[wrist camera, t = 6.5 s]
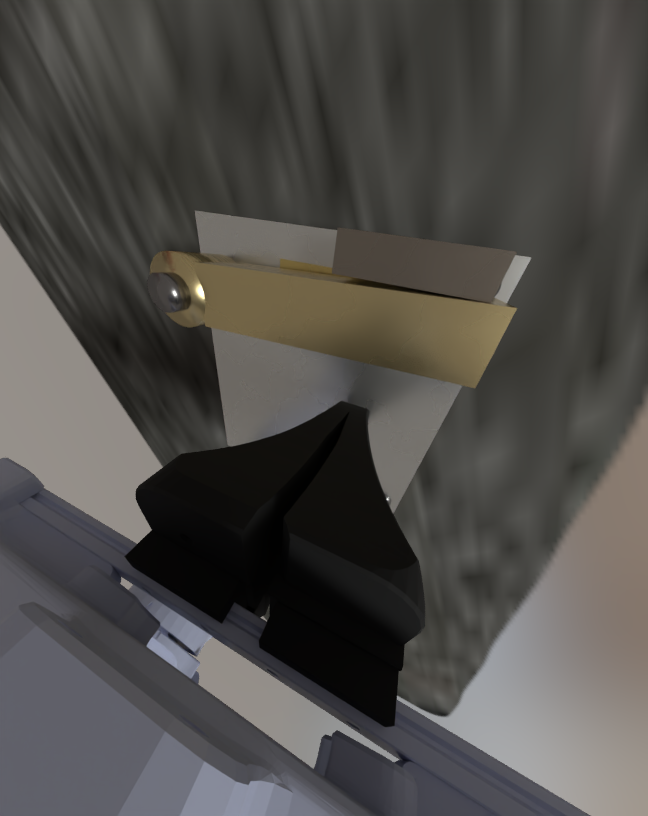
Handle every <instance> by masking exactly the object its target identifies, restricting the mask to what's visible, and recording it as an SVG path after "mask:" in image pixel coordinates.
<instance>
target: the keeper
mask: <svg viewBox="0 0 648 816" xmlns="http://www.w3.org/2000/svg"><path fill="white" fill-rule="evenodd" d="M516 253H517V252H515V251H507V250H500V249H493V248H485V247H478V246H471V245H463V244H456V243H449V242H441V241H434V240H426V239H419V238H412V237H404V236H397V235H390V234H382V233H375V232H368V231H360V230H353V229H346V228H338V229H337V237H336V244H335V252H334V260H333V267H332V268H331V267H325V266H320V265H314V264H308V263H303V262H297V261H292V260H286V259H280V268H284V269H291V270H299V271H306V272H314V273H321V274H328V275H336V276H343V277H350V278H358V279H364V280H370V281H375V282H380V283H386V284H391V285H396V286H402V287H407V288H413V289H418V290H423V291H429V292H434V293H439V294H445V295H450V296H456V297H461V298H466V299H472V300H477V301H482V302H488V303H491V302H492V300H493V298H494V296H495V294H496V292H497V290H498V289H499V287H500V285H501V283H502V281H503V279H504V277H505V275H506V273H507V271H508V269H509V267H510V265H511V263H512V261H513V259H514V257H515V255H516Z"/></svg>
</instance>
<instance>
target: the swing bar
mask: <svg viewBox="0 0 648 816" xmlns="http://www.w3.org/2000/svg"><path fill="white" fill-rule="evenodd" d="M147 287H148V291H149V294H150V296H151V298H152V300H153V302H154V303H155V305H156V306H157V307H158V308H159V309H160V310H162V311H164V312H165V313H166V314H167V315H168V316H169V317H170V318H171V319H172V320H173V321H175V322H176V323H178V324H179V325H181V326H184V327H195V326H199V325H203V324H205V326H206V327H210V328H215V329H219V330H223V331H228V332H232V333H237V334H241V335H245V336H250V337H254V338H258V339H263V340H267V341H271V342H276V343H280V344H284V345H289V346H293V347H297V348H302V349H306V350H310V351H315V352H319V353H323V354H328V355H332V356H337V357H341V358H345V359H350V360H354V361H358V362H363V363H367V364H371V365H376V366H380V367H384V368H389V369H393V370H397V371H402V372H406V373H410V374H415V375H419V376H423V377H428V378H432V379H437V380H441V381H445V382H450V383H454V384H458V385H463V386H467V387H471V388H476V386H477V384H478V382H479V380H480V378H481V376H482V374H483V372H484V371H485V369H486V367H487V365H488V363H489V361H490V359H491V357H492V355H493V353H494V351H495V349H496V347H497V346H498V344H499V342H500V340H501V338H502V336H503V334H504V332H505V330H506V328H507V326H508V324H509V323H510V321H511V319H512V317H513V315H514V313H515V311H516V309H517V308H516V307H514V306H511V305H509V304H507V303H505V302H503V301H501V300H498V299H496V298H493V300H492V302H491V303H488V302H482V301H477V300H472V299H466V298H461V297H456V296H450V295H445V294H439V293H434V292H429V291H423V290H418V289H413V288H407V287H402V286H396V285H391V284H386V283H380V282H375V281H370V280H364V279H358V278H350V277H343V276H336V275H328V274H321V273H314V272H306V271H299V270H291V269H284V268H277V267H269V266H262V265H255V264H247V263H236V262H235V261H234V260H232V259H231V258H230V257H228V256H226V255H222V254H209V253H193V252H176V251H161V252H159V253H157V254H156V255H155V256H154V258H153V260H152V262H151V267H150V275H149V277H148V280H147Z"/></svg>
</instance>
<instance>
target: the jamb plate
mask: <svg viewBox="0 0 648 816" xmlns="http://www.w3.org/2000/svg"><path fill="white" fill-rule="evenodd" d="M195 216H196V223H197V230H198V237H199V244H200V251H201V253H209V254H222V255H226V256H228V257H230V258H231V259H232V260H234V261H235V262H236V263H247V264H255V265H262V266H269V267H277V268H280V259H286V260H292V261H297V262H303V263H308V264H314V265H320V266H325V267H331V268H332V267H333V260H334V252H335V244H336V237H337V230H330V229H323V228H316V227H309V226H301V225H294V224H287V223H280V222H273V221H266V220H258V219H251V218H244V217H237V216H230V215H223V214H215V213H208V212H201V211H195ZM530 259H531V257H524V256H517V255H515V257H514V259H513V261H512V263H511V265H510V267H509V269H508V271H507V273H506V275H505V277H504V279H503V281H502V283H501V285H500V287H499V289H498V290H497V292H496V294H495V296H494V298H496V299H498V300H501V301H503V302H505V303H507V302H508V300H509V298H510V296H511V294H512V293H513V291H514V289H515V287H516V285H517V283H518V281H519V280H520V278H521V276H522V274H523V272H524V270H525V268H526V267H527V265H528V263H529V261H530ZM211 329H212V336H213V343H214V351H215V358H216V365H217V372H218V379H219V386H220V393H221V400H222V407H223V414H224V422H225V429H226V436H227V443H228V445H229V446H236V445H241V444H245V443H249V442H253V441H256V440H260V439H263V438H267V437H270V436H273V435H276V434H279V433H282V432H284V431H287V430H289V429H292V428H294V427H296V426H298V425H300V424H302V423H304V422H306V421H308V420H310V419H312V418H314V417H315V416H317V415H319V414H321V413H322V412H324V411H326V410H327V409H329V408H331V407H332V406H334V405H335V404H337V403H338V402H340V401H344V402H348V403H351V404H354V405H357V406H360V407H363V408H367V409H368V410H369V411H370V413H369V417H368V432H369V441H370V447H371V452H372V457H373V461H374V465H375V468H376V472H377V475H378V478H379V481H380V484H381V487H382V489H383V491H384V494H385V496H386V499H387V501H388V503H389V506H390V508H391V510H392V512H393V513H394V511H395V509H396V507H397V506H398V504H399V502H400V500H401V498H402V496H403V494H404V493H405V491H406V489H407V487H408V485H409V483H410V481H411V480H412V478H413V476H414V474H415V472H416V470H417V468H418V467H419V465H420V463H421V461H422V459H423V457H424V456H425V454H426V452H427V450H428V448H429V446H430V444H431V443H432V441H433V439H434V437H435V435H436V433H437V431H438V430H439V428H440V426H441V424H442V422H443V420H444V418H445V417H446V415H447V413H448V411H449V409H450V407H451V406H452V404H453V402H454V400H455V398H456V396H457V394H458V393H459V391H460V389H461V387H462V385H458V384H454V383H450V382H445V381H441V380H437V379H432V378H428V377H423V376H419V375H415V374H410V373H406V372H402V371H397V370H393V369H389V368H384V367H380V366H376V365H371V364H367V363H363V362H358V361H354V360H350V359H345V358H341V357H337V356H332V355H328V354H323V353H319V352H315V351H310V350H306V349H302V348H297V347H293V346H289V345H284V344H280V343H276V342H271V341H267V340H263V339H258V338H254V337H250V336H245V335H241V334H237V333H232V332H228V331H223V330H219V329H215V328H211Z"/></svg>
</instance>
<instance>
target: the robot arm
mask: <svg viewBox="0 0 648 816" xmlns="http://www.w3.org/2000/svg"><path fill="white" fill-rule="evenodd" d="M369 413H370V411H369V410H368V409H367V408H363V407H360V406H357V405H354V404H351V403H348V402H344V401H340V402H338V403H337V404H335V405H334V406H332V407H331V408H329V409H327V410H326V411H324V412H322V413H321V414H319V415H317V416H315V417H314V418H312V419H310V420H308V421H306V422H304V423H302V424H300V425H298V426H296V427H294V428H292V429H289V430H287V431H284V432H282V433H279V434H276V435H273V436H270V437H267V438H263V439H260V440H256V441H253V442H249V443H245V444H241V445H236V446H231V447H226V448H220V449H214V450H207V451H200V452H192V453H184V454H181V455H179V456H178V457H176V458H175V459H174V460H172V461H171V462H170V463H168V464H167V465H166V466H164V467H163V468H162V469H160V470H159V471H158V472H156V473H155V474H154V475H152V476H151V477H150V478H148V479H147V480H146V481H145V482H143V483H142V484H140V485H139V486H138V488H137V489H136V500H137V503H138V505H139V507H140V509H141V511H142V513H143V514H144V516H145V518H146V520H147V522H148V523H149V525H150V527H151V529H152V531H151V532H150V533H149V534H147V535H146V536H145V537H144V538H143V539H142V540H141V541H140V542H139V543H138V544H136V543H135V542H133V541H131V540H130V539H128V538H126V537H124V536H123V535H121V534H120V533H118V532H116V531H115V530H113V529H111V528H110V527H108V526H106V525H105V524H103V523H101V522H100V521H98V520H96V519H94V518H93V517H91V516H89V515H88V514H86V513H84V512H83V511H81V510H80V509H78V508H76V507H75V506H73V505H71V504H70V503H68V502H66V501H65V500H63V499H61V498H59V497H58V496H56V495H54V494H53V493H51V492H50V491H48V490H46V489H44V485H43V484H42V483H41V482H40V481H39V480H38V478H36V476H35V475H34V474H32V473H31V472H30V471H29V470H27V469H26V468H24V467H22V466H20V465H19V464H17V463H15V462H14V461H12V460H10V459H9V458H2V459H0V816H590V815H588V814H587V813H585V812H583V811H582V810H580V809H578V808H577V807H575V806H573V805H572V804H570V803H568V802H567V801H565V800H563V799H562V798H560V797H558V796H556V795H555V794H553V793H551V792H550V791H548V790H547V789H545V788H543V787H542V786H540V785H538V784H537V783H535V782H533V781H532V780H530V779H528V778H526V777H525V776H523V775H522V774H520V773H518V772H517V771H515V770H513V769H512V768H510V767H508V766H507V765H505V764H503V763H502V762H500V761H498V760H497V759H495V758H493V757H491V756H490V755H488V754H487V753H485V752H483V751H482V750H480V749H478V748H476V747H475V746H473V745H472V744H470V743H468V742H467V741H465V740H463V739H462V738H460V737H458V736H457V735H455V734H453V733H452V732H450V731H448V730H446V729H445V728H443V727H441V726H440V725H438V724H437V723H435V722H433V721H431V720H430V719H428V718H427V717H425V716H423V715H422V714H420V713H418V712H417V711H415V710H413V709H411V708H410V707H408V706H407V705H405V704H403V703H401V702H400V701H398V700H397V686H398V672H399V671H401V670H402V667H403V659H404V644H405V643H407V642H408V641H410V640H411V639H412V638H414V637H415V636H416V635H418V634H419V633H420V632H421V631H422V630H423V628H424V627H425V601H424V590H423V583H422V576H421V570H420V565H419V561H418V559H417V557H416V556H415V554H414V552H413V550H412V549H411V547H410V545H409V543H408V542H407V540H406V538H405V536H404V534H403V532H402V530H401V529H400V527H399V525H398V523H397V521H396V519H395V517H394V514H393V512H392V510H391V508H390V506H389V503H388V501H387V499H386V496H385V494H384V491H383V489H382V487H381V484H380V481H379V478H378V475H377V472H376V468H375V465H374V461H373V457H372V452H371V447H370V441H369V432H368V417H369ZM121 577H123V578H124V579H126V580H127V581H129V582H130V583H132V584H133V586H132V587H131V588H130V589H129V590H127V589H126V588H125V587H123V586H122V585H121V584H120V582H121ZM269 604H270V617H269V619H268V621H267V622H266V621H265V620H263V619H261V618H260V617H262V616H263V615H265V614H266V611H267V609H268V607H269ZM212 637H214V638H215V639H217V640H218V641H220V642H221V643H223V644H224V645H226V646H228V647H229V648H231V649H232V650H234V651H235V652H237V653H238V654H240V655H241V656H243V657H244V658H246V659H247V660H249V661H251V662H252V663H253V664H255V665H256V666H258V667H259V668H261V669H263V670H264V671H266V672H267V673H269V674H270V675H272V676H273V677H275V678H276V679H278V680H279V681H281V682H282V683H284V684H285V685H287V686H289V687H290V688H292V689H293V690H295V691H296V692H298V693H299V694H301V695H302V696H304V697H305V698H307V699H308V700H310V701H311V702H313V703H314V704H316V705H317V706H319V707H320V708H322V709H323V710H325V711H326V712H328V713H329V714H331V715H332V716H334V717H335V718H337V719H339V720H340V721H342V722H343V723H345V724H346V725H348V726H349V727H351V728H352V729H354V730H355V731H357V732H358V733H360V734H362V735H363V736H364V737H366V738H367V739H369V740H370V741H372V742H374V743H375V744H377V745H378V746H380V747H381V748H383V749H384V750H386V751H387V752H389V753H390V754H392V755H393V756H395V757H396V758H398V759H399V760H398V761H396V762H392V761H391V760H389V759H387V758H386V757H384V756H382V755H380V754H379V753H377V752H375V751H373V750H371V749H369V748H368V747H366V746H364V745H363V744H361V743H359V742H357V741H355V740H354V739H352V738H350V737H348V736H346V735H345V734H343V733H341V732H340V731H335V732H334V733H333V734H332V737H331V736H328V735H324V736H323V737H322V739H321V743H320V748H319V752H318V757H317V761H316V764H315V767H314V769H313V768H311V767H310V766H309V765H307V764H306V763H305V762H303V761H302V760H300V759H299V758H297V757H296V756H295V755H294V754H292V753H291V752H290V751H288V750H287V749H285V748H284V747H283V746H281V745H280V744H278V743H277V742H276V741H275V740H273V739H272V738H271V737H269V736H268V735H266V734H265V733H264V732H262V731H261V730H260V729H258V728H257V727H256V726H254V725H253V724H252V723H250V722H249V721H247V720H246V719H245V718H243V717H242V716H241V715H239V714H238V713H237V712H235V711H234V710H233V709H231V708H230V707H228V706H227V705H226V704H224V703H223V702H222V701H220V700H219V699H218V698H216V697H215V696H213V695H212V694H210V693H209V692H208V691H206V690H205V689H204V688H203V687H201V686H200V685H198V682H199V674H198V672H197V671H196V670H197V668H198V666H199V665H200V662H199V661H198V660H196V659H195V658H194V657H193V656H191V655H190V654H189V653H191V654H192V655H194V656H197V655H198V654H199V652H200V651H201V649H202V647H203V646H204V644H205V642H207V641H208V640H210V639H211V638H212ZM186 651H187V652H186ZM188 652H189V653H188Z"/></svg>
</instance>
